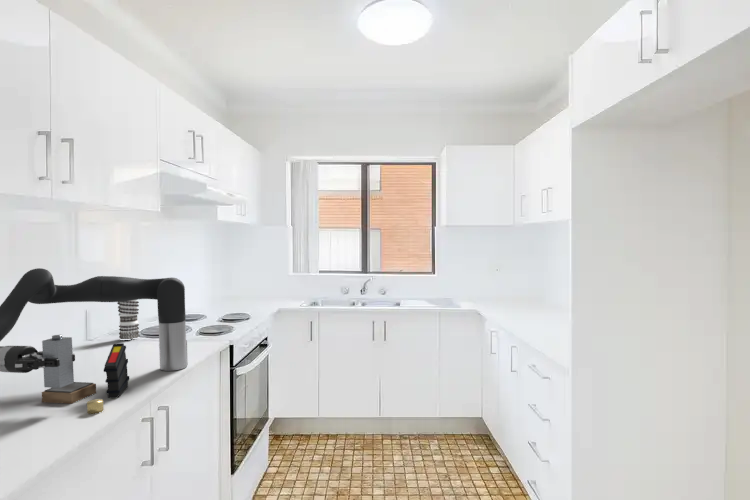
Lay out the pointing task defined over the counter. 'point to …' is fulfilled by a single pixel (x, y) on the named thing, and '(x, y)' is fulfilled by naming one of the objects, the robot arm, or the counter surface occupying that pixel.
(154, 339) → the counter surface
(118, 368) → the black ridged block
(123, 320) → the decorative candle
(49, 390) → the stand
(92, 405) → the short brass cylinder
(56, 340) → the block
